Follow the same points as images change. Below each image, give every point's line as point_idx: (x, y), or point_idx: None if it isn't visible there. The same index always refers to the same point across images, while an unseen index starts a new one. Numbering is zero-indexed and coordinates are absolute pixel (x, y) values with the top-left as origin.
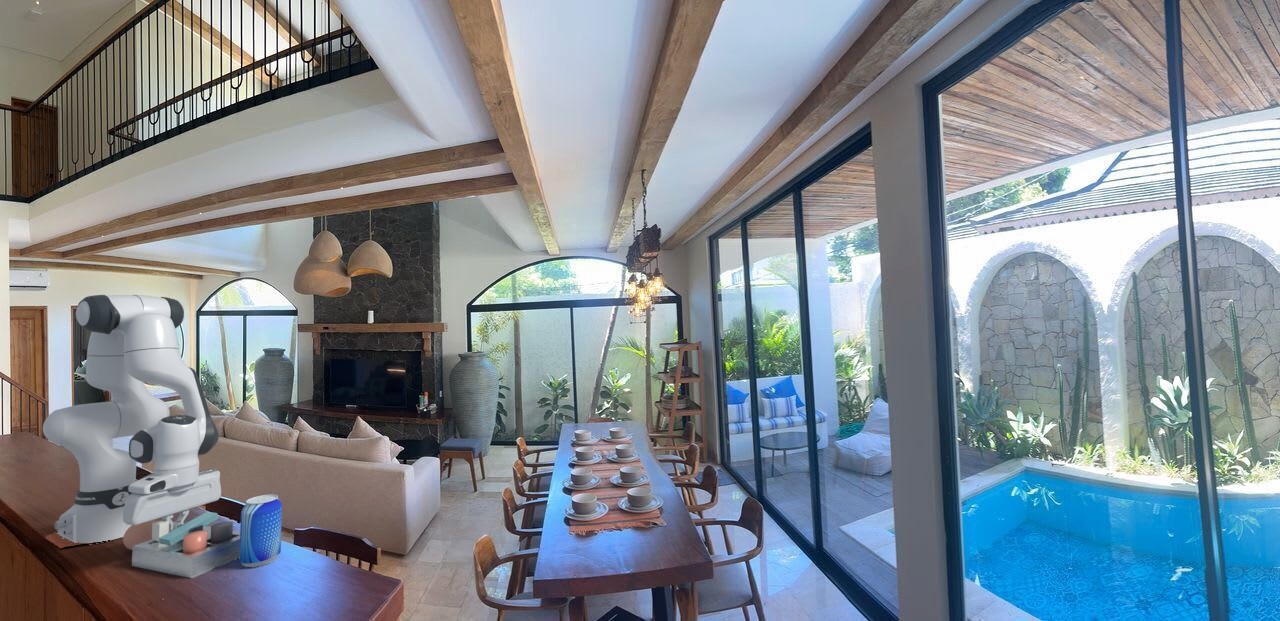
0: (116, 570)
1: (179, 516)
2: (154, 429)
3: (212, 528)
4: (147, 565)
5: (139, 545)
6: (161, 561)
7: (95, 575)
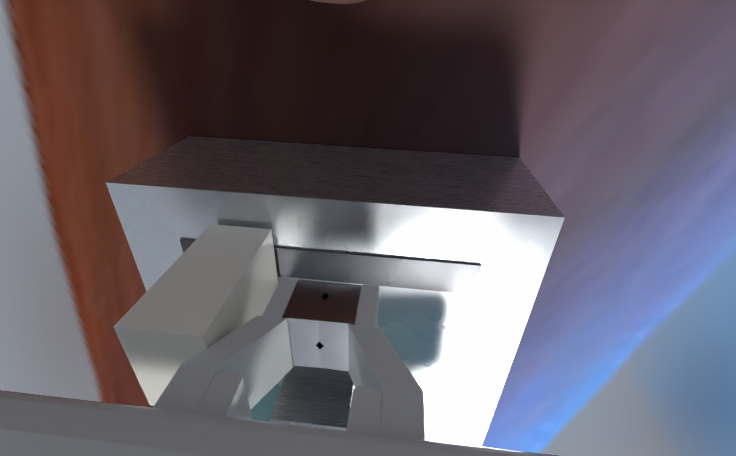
0: (128, 114)
1: (364, 369)
2: None
3: None
4: None
5: (138, 223)
6: None
7: (45, 67)
